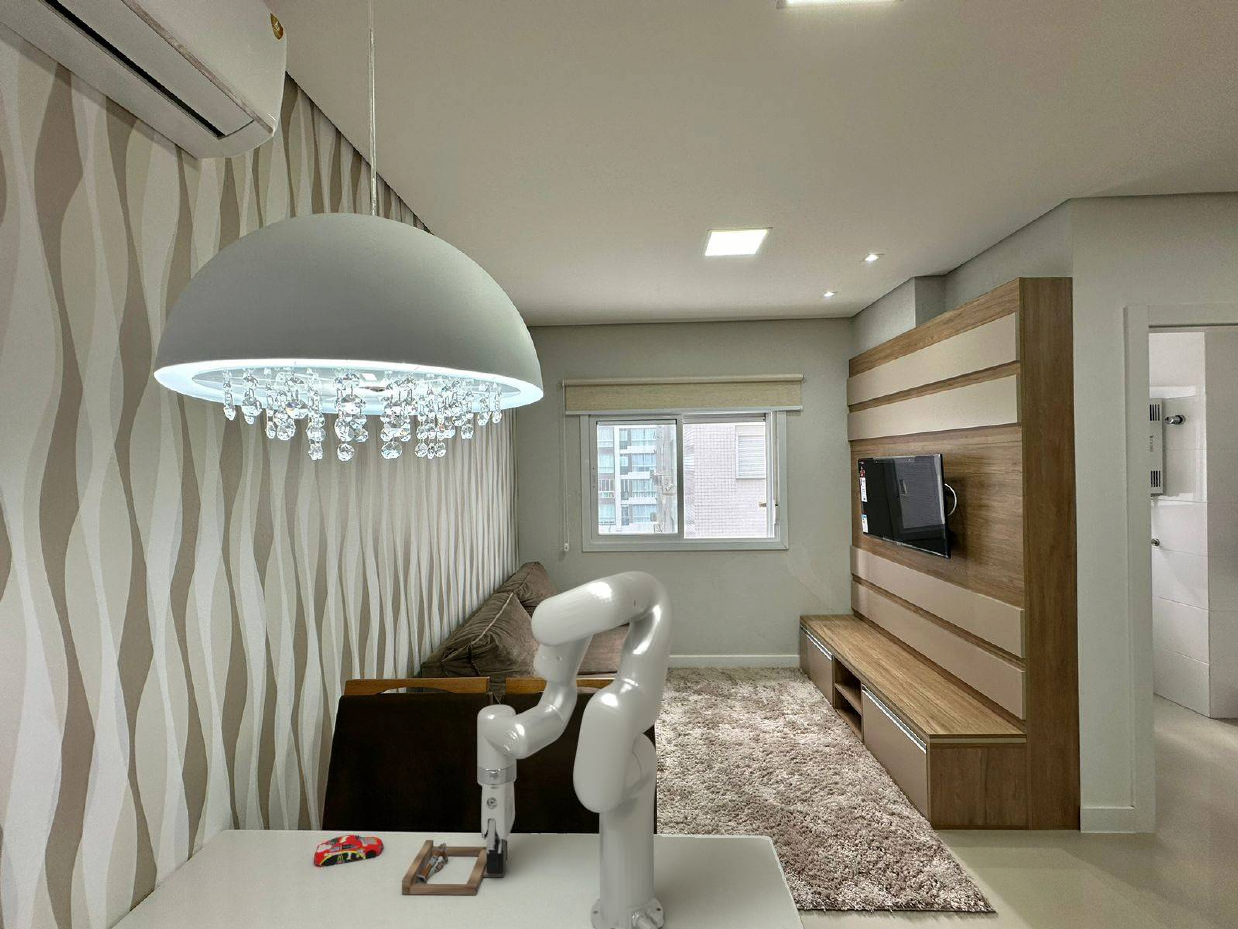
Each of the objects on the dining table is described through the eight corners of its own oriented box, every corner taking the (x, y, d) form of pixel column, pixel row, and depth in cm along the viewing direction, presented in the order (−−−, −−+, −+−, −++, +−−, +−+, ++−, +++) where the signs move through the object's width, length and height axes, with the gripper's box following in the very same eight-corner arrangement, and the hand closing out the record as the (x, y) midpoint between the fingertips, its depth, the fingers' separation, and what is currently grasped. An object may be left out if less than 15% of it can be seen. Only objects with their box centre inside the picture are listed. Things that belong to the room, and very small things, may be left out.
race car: (383, 846, 144) (383, 826, 144) (383, 859, 138) (383, 839, 139) (316, 856, 140) (316, 836, 140) (312, 870, 134) (313, 850, 134)
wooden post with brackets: (453, 857, 136) (447, 841, 135) (429, 894, 130) (423, 877, 128) (446, 855, 137) (440, 839, 136) (421, 891, 130) (415, 875, 129)
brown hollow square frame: (497, 895, 125) (497, 856, 125) (401, 894, 125) (401, 855, 126) (511, 852, 139) (511, 818, 139) (426, 852, 140) (426, 817, 140)
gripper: (508, 790, 124) (508, 892, 124) (522, 755, 141) (523, 845, 140) (467, 790, 125) (467, 892, 124) (487, 755, 141) (487, 845, 140)
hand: (497, 866), depth 132 cm, fingers closed on brown hollow square frame, 3 cm apart
